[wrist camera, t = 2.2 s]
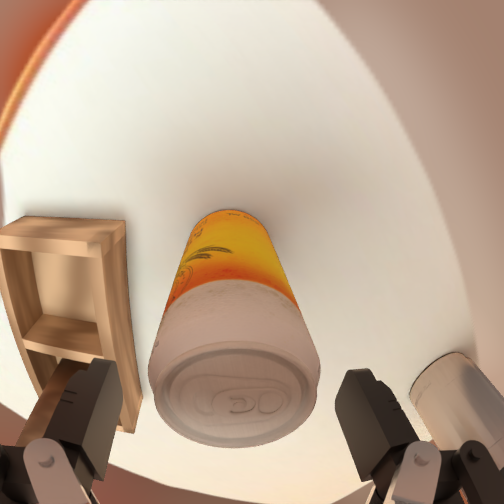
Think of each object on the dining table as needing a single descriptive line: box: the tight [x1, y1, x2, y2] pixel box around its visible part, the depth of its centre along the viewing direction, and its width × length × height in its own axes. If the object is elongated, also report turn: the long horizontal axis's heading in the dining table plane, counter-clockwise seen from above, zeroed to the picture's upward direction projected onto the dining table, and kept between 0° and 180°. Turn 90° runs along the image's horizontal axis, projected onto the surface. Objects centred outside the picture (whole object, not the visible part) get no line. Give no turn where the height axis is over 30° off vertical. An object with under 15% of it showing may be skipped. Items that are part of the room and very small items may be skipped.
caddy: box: [0, 216, 143, 447], centre depth 17 cm, size 10×19×16 cm, turn 174°
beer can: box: [148, 210, 320, 448], centre depth 16 cm, size 6×6×15 cm
